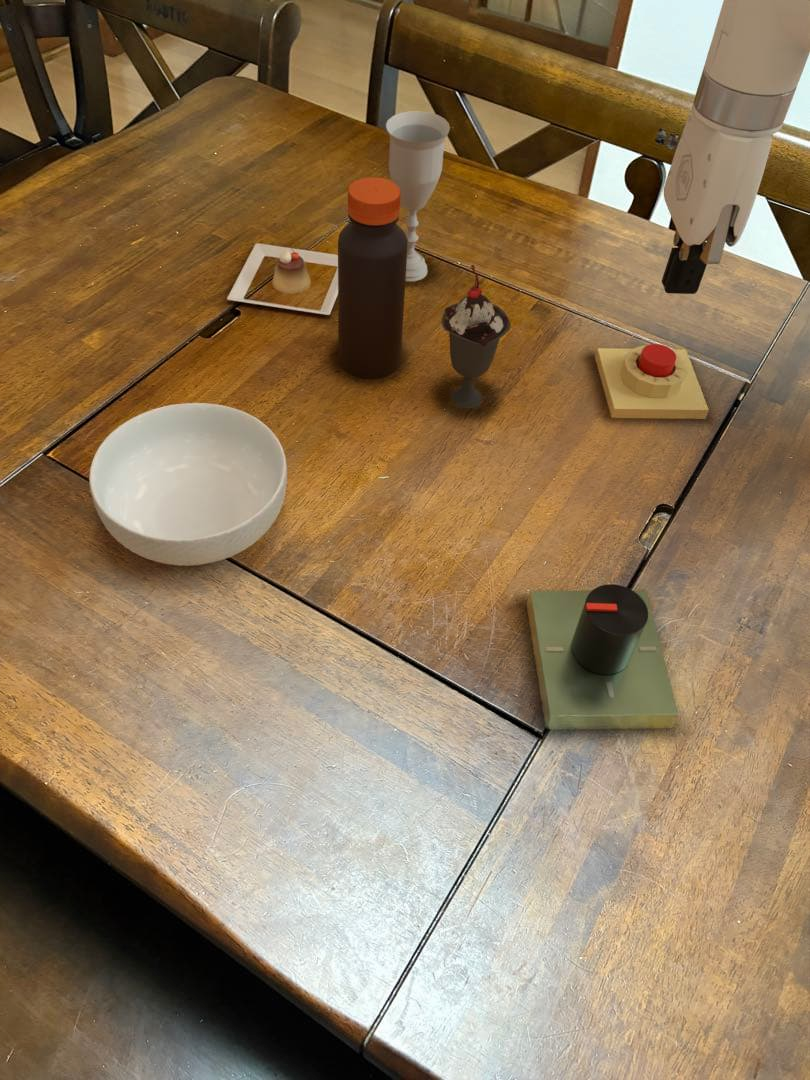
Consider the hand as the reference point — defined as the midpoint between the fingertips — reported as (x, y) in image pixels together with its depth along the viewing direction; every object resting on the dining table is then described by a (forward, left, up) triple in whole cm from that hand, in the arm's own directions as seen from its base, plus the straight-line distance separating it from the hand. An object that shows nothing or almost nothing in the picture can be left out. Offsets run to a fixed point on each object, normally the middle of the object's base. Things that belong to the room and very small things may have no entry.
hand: (678, 288), depth 89 cm
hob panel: (+12, +35, -13) cm, 39 cm away
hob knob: (+12, +35, -10) cm, 38 cm away
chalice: (+25, -21, -13) cm, 35 cm away
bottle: (+30, -4, -13) cm, 33 cm away
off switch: (0, 0, -13) cm, 13 cm away
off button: (0, 0, -10) cm, 10 cm away
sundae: (+20, +2, -13) cm, 24 cm away
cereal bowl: (+46, +19, -13) cm, 51 cm away
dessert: (+39, -18, -13) cm, 45 cm away
